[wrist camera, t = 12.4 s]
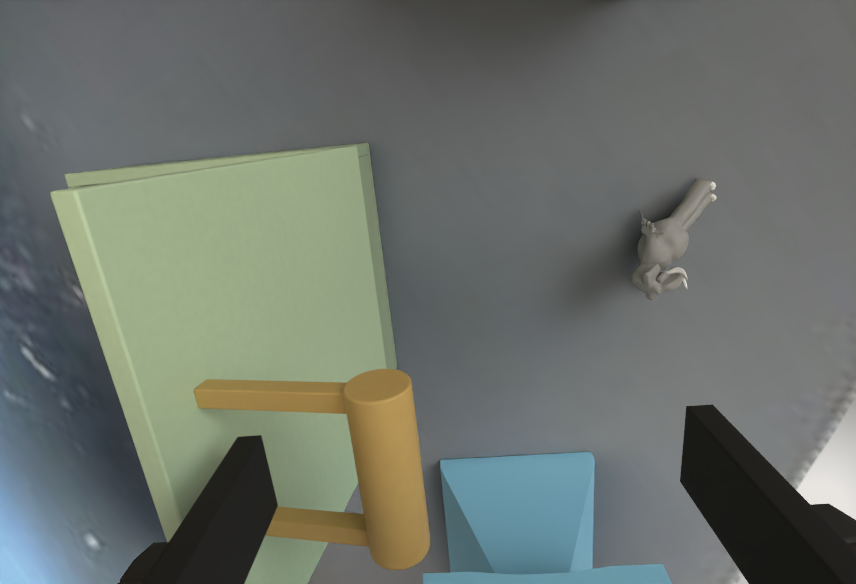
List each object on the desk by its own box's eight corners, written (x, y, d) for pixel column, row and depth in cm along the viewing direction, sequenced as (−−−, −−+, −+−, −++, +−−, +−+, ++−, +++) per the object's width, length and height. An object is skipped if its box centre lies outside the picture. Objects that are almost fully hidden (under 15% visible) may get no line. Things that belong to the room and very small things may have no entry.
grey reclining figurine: (743, 238, 38) (676, 331, 37) (668, 211, 42) (607, 295, 41) (754, 154, 30) (670, 270, 29) (661, 130, 34) (584, 233, 33)
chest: (189, 381, 43) (144, 425, 37) (129, 166, 38) (63, 174, 31) (397, 366, 42) (388, 409, 36) (368, 142, 36) (352, 145, 30)
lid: (223, 712, 18) (434, 755, 16) (47, 191, 12) (350, 165, 10) (382, 412, 36) (490, 416, 34) (344, 146, 30) (472, 134, 28)
